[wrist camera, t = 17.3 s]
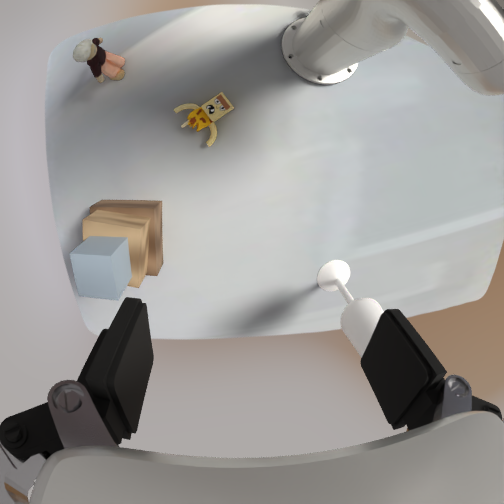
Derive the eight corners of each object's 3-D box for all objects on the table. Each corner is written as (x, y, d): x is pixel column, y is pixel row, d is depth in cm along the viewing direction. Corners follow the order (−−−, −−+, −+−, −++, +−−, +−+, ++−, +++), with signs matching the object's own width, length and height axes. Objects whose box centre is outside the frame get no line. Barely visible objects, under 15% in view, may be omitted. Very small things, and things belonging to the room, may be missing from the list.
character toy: (167, 111, 33) (212, 78, 32) (171, 113, 36) (214, 82, 34) (199, 153, 36) (245, 121, 35) (201, 152, 39) (244, 122, 37)
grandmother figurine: (132, 79, 33) (97, 61, 21) (111, 90, 33) (71, 78, 21) (121, 43, 30) (87, 18, 18) (101, 54, 30) (62, 35, 18)
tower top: (97, 209, 36) (82, 219, 32) (150, 217, 38) (140, 229, 33) (97, 262, 40) (85, 276, 35) (147, 271, 41) (138, 288, 37)
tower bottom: (102, 199, 41) (89, 207, 36) (162, 200, 42) (154, 208, 37) (107, 258, 45) (97, 270, 40) (163, 262, 46) (157, 276, 42)
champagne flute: (323, 296, 51) (371, 394, 29) (312, 269, 48) (364, 367, 26) (353, 281, 50) (415, 370, 28) (345, 253, 48) (415, 340, 26)
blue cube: (90, 235, 33) (69, 253, 27) (127, 237, 33) (110, 255, 28) (96, 274, 35) (78, 295, 30) (132, 277, 36) (118, 300, 30)
